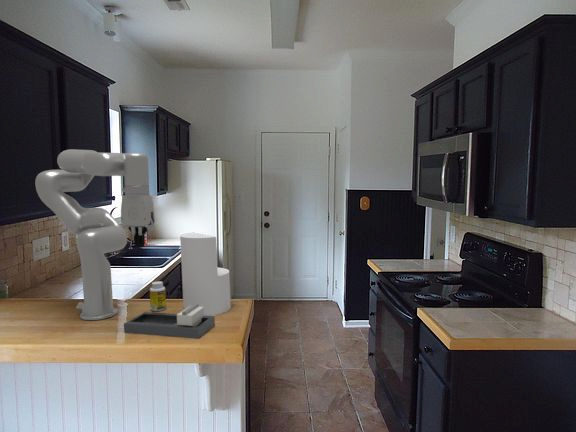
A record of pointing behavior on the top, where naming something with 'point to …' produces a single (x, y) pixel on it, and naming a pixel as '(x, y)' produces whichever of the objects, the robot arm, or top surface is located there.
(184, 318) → the slider knob
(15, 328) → the top surface
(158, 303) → the supplement bottle
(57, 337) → the top surface
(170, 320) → the dark grey tray
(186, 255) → the cylinder
